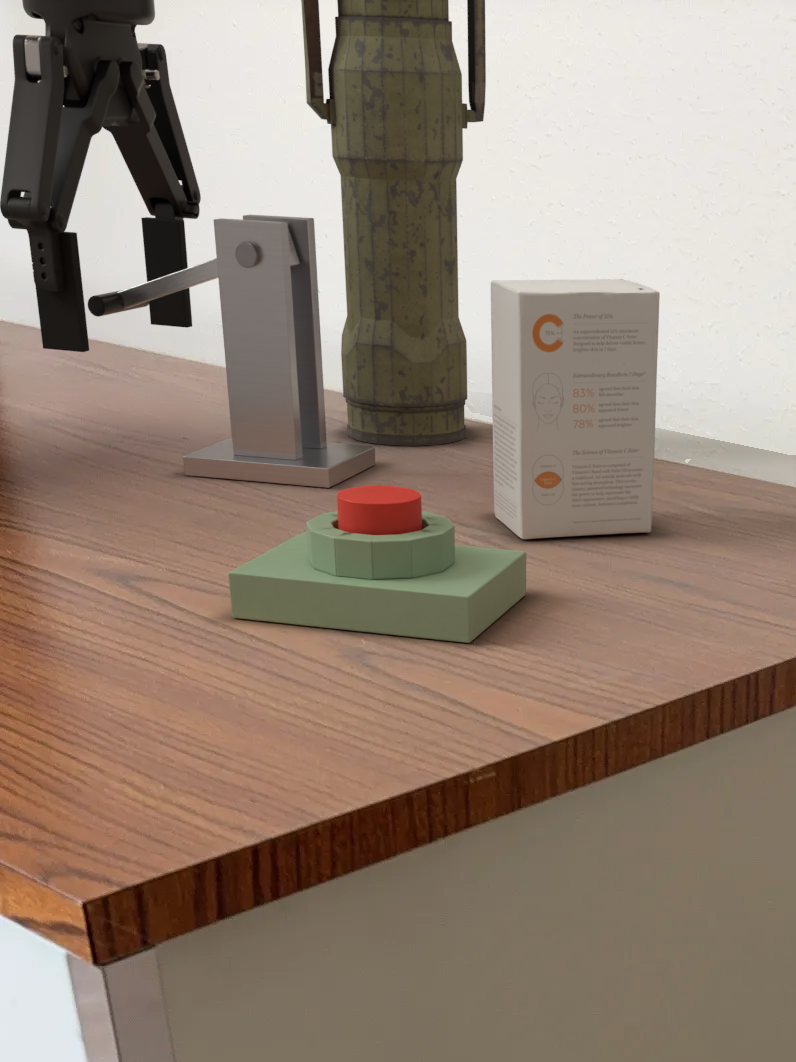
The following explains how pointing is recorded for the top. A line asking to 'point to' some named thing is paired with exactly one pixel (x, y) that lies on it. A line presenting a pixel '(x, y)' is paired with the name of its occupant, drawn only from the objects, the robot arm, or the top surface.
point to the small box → (573, 405)
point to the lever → (162, 287)
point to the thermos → (399, 208)
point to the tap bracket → (273, 361)
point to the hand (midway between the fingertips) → (121, 337)
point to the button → (379, 510)
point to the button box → (380, 582)
